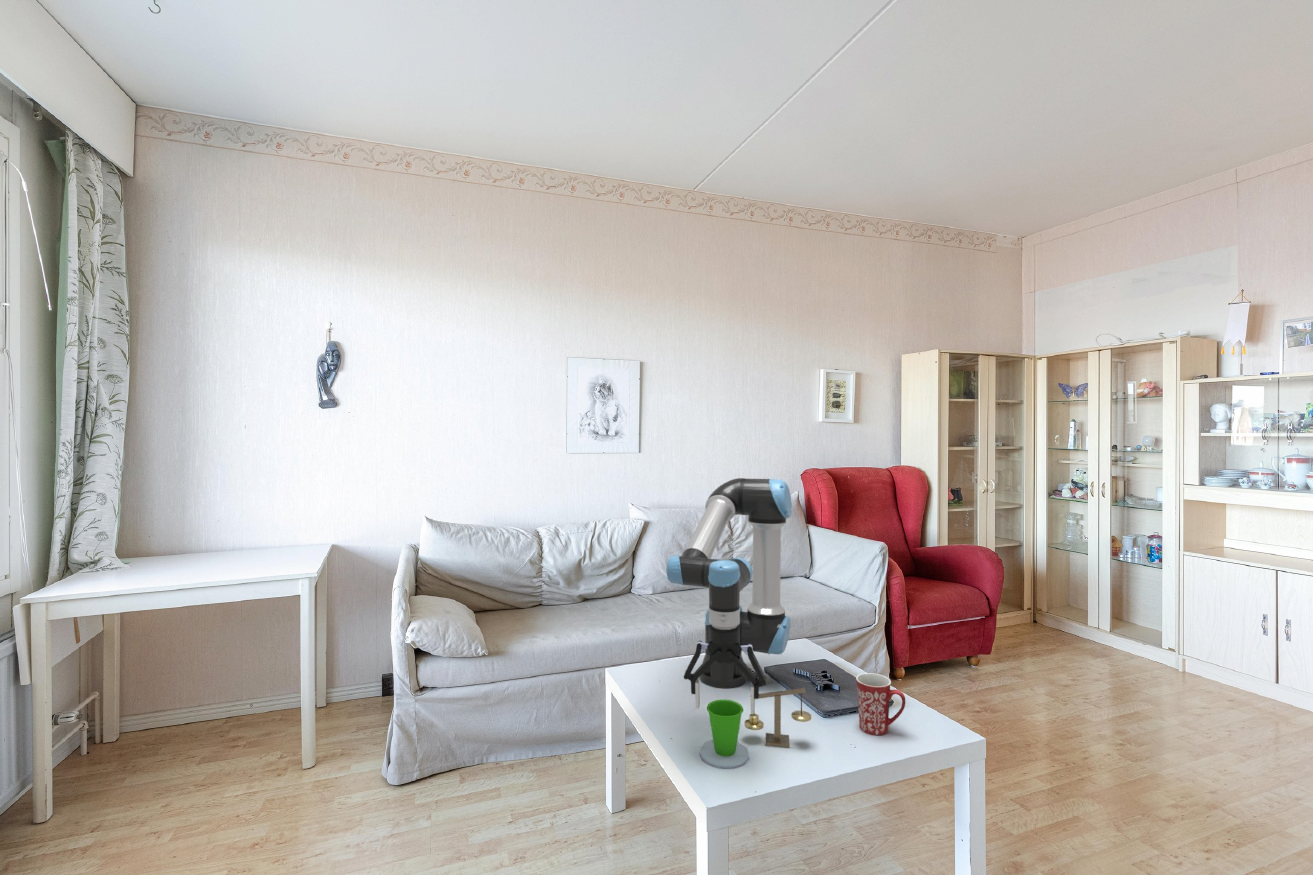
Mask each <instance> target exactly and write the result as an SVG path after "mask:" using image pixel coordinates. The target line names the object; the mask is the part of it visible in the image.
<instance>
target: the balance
mask: <svg viewBox="0 0 1313 875" xmlns="http://www.w3.org/2000/svg"><path fill="white" fill-rule="evenodd" d="M805 693H806V688H805V687H801V688H795V689H793V688H792V689H787V690H786V689H785V690H778V691H771V692H762V693H759V698H758V699H759V700H760V699H766V698H774V700H773V701H774V704H773V706H774V709H773V710H774V715H773V716H774V722H773V723H774V725H773V726H774V729H773V732H774V733H770V732H765V746H766V747H774V748H775V747H776V748H786V749H790V735H789V734H783V733H781V731H782V730H781V729H782V726H781V723H782V722H781V718H782V712H781V711H782V708H781V705H782V703H781V702H782V699H781V698H782V696H792V695H798V694H800V710H794V711H793V712H791V718H792V719H793V720H795V721H796V722H802V723H805V722H809V721H811V720H812V714H811V713H810V712H807V711H805V710H803V694H805ZM750 698H751V695H750ZM758 699H757V700H758ZM755 700H756V699H754V714H753V713H750V714H749V718H748V719H746V720H744V724H743V725H744V727H745V728H746V729H748V730H752V731H759V730H760V731H761V730H762V729H764V725H765V724H764V722H763V721H762V720H760V718H759V717H760V716H759V715H758V714H757V713H755V712H756V710H755V706H756V702H755Z"/></svg>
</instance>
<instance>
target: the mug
mask: <svg viewBox="0 0 1313 875" xmlns="http://www.w3.org/2000/svg"><path fill="white" fill-rule="evenodd" d="M855 680H856V690H857V707H858V709H857V710H858V722H859V725H858V726H859V729H860V730H861V731H862V732H864V733H866V734H869V735H871V736H883V735H886V734H887V733H889V732H888V731H889V726H890V725H892V724H893V723H894V722H895V721H896V720H897V719H898V718H899V717H900V716H901V715H902V713H903V712H904V710H905V707H906V696H905V694H904V693H903V692H902V691H901V690H900V689H891V685H892V681H891V678H889V677H887V676H885V675H883V674H879V673H875V672H874V673H873V672H868V673H867V672H864V673H859V674H858V675H856V678H855ZM894 695H898V696H899V697H900V699H901V703H902V704H901V707H900V708H899V710H898V711H897V712H896V714H894V715H893V716H892V717H891V718H890V717H889V716H890V700H891V699H892V697H893V696H894Z"/></svg>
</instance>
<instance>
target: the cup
mask: <svg viewBox="0 0 1313 875" xmlns="http://www.w3.org/2000/svg"><path fill="white" fill-rule="evenodd" d="M706 710H707V712H708V716H709V717H708V718H709V723H710V729H711V736H712V740H713V743H714V749H715V752H716V753H717V754H718V755H720V756H725V757H726V756H732V755H733V754H734V753H735V751H736V746H737V742H738V739H739V733H740V727H741V719H742V714H743V712H744V707H743V706H742V704H741V703H739V702H738V701H734V700H731V699H716V700H712V701H711V702H709V703H708V704H707V706H706Z"/></svg>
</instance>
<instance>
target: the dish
mask: <svg viewBox="0 0 1313 875" xmlns="http://www.w3.org/2000/svg"><path fill="white" fill-rule="evenodd" d="M749 755H750V753H749V749H748V747H746V745H744V744H742V743H741V742H739V741H737V746H736V751H735V753H734V754H733V755H732V756H726V757H725V756H720V755H718V754H717V753H716V752H715V749H714V743H713V739H711V740H708V741H705V742H704V743H703V744H702V745H701V746H700V749H699V757H700V758H701V761H702V762H704V763H705V764H707V765H708V766H711V767H712V768H716V769H722V770H724V769H725V770H730V769H731V770H732V769H736V768H739V767H742V766H744V765H746V763H747V762H748V761H749Z"/></svg>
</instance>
